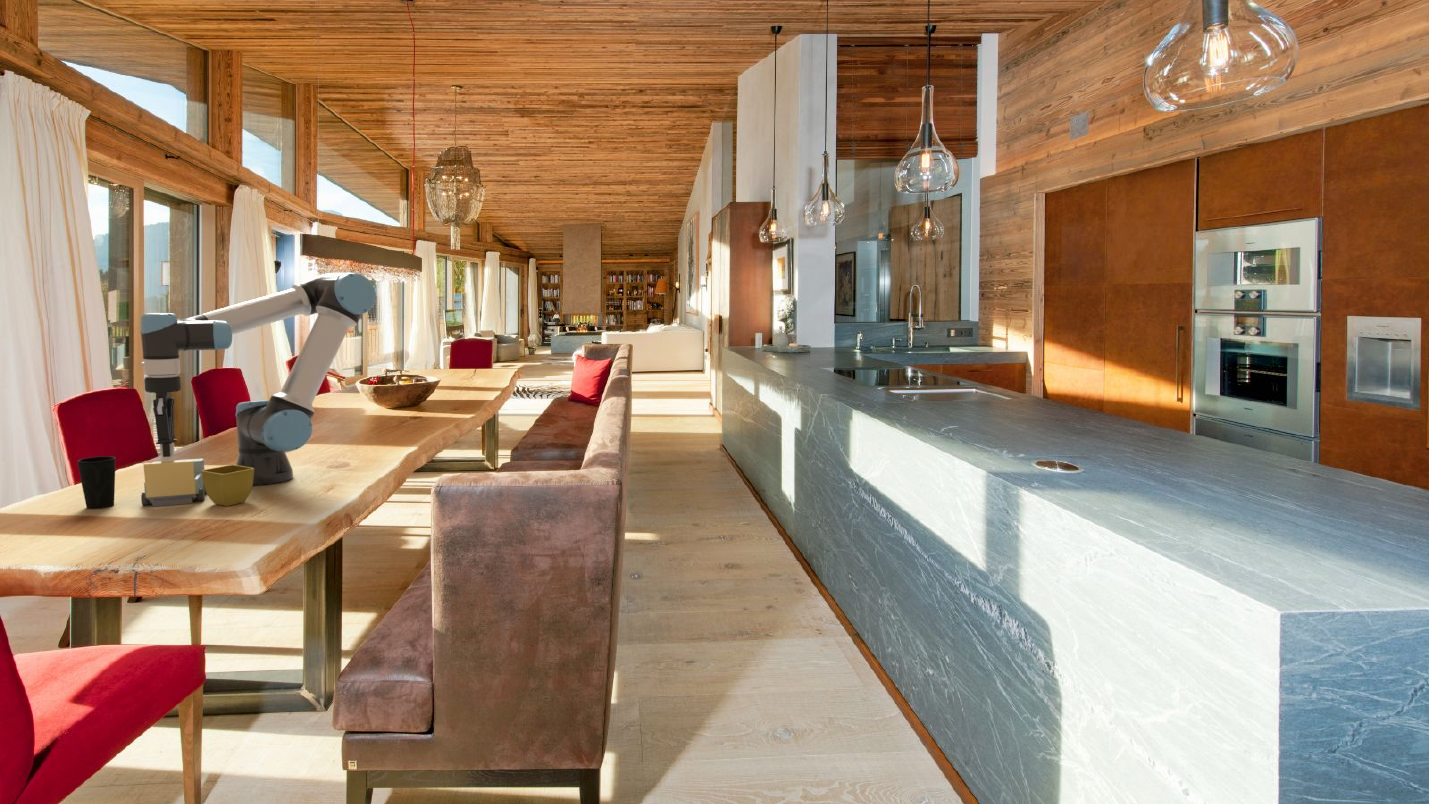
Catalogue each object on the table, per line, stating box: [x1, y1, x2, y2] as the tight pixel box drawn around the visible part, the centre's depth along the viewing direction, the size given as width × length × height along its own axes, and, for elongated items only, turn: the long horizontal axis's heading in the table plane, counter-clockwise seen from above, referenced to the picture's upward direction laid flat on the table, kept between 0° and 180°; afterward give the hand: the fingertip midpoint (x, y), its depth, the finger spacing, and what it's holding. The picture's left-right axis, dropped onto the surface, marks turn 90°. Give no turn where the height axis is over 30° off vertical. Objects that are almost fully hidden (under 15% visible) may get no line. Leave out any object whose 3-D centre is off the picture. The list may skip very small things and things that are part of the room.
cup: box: [76, 455, 117, 510], centre depth 207 cm, size 8×8×12 cm
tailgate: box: [142, 460, 197, 499], centre depth 208 cm, size 10×1×9 cm, turn 115°
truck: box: [140, 458, 207, 507], centre depth 215 cm, size 13×14×9 cm
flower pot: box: [201, 464, 254, 507], centre depth 211 cm, size 9×9×9 cm
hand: (168, 468), depth 208 cm, fingers closed
